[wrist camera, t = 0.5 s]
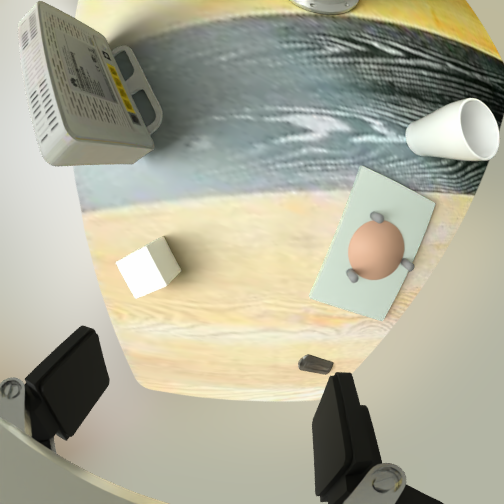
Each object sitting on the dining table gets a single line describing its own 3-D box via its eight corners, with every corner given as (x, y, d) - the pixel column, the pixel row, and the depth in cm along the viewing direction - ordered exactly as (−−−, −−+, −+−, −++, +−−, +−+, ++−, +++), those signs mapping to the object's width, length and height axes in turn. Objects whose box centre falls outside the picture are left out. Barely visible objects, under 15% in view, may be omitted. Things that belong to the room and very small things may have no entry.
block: (325, 369, 45) (326, 377, 44) (294, 364, 45) (295, 372, 43) (334, 356, 44) (335, 364, 42) (302, 351, 43) (303, 358, 42)
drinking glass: (393, 146, 33) (451, 136, 18) (407, 108, 31) (464, 84, 16) (428, 169, 33) (493, 173, 18) (441, 132, 31) (504, 122, 16)
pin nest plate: (359, 166, 34) (368, 165, 30) (431, 202, 34) (444, 205, 30) (308, 294, 40) (311, 306, 36) (380, 317, 40) (387, 329, 36)
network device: (85, 60, 32) (7, 31, 13) (122, 30, 30) (52, -17, 11) (132, 172, 37) (33, 181, 18) (178, 141, 35) (91, 120, 16)
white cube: (152, 283, 42) (135, 299, 36) (135, 250, 41) (115, 262, 35) (181, 270, 41) (167, 285, 35) (163, 235, 40) (145, 246, 34)
